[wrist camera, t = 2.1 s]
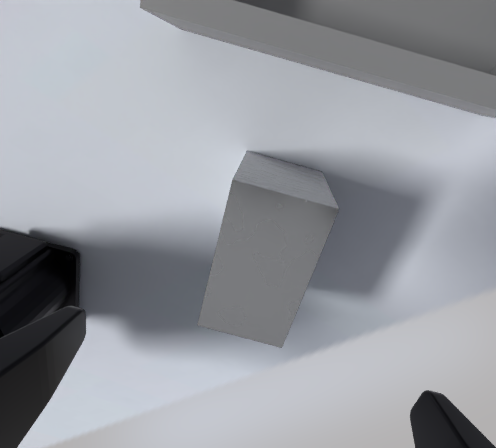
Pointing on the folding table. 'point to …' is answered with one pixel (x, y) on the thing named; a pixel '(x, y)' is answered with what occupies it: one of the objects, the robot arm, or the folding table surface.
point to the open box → (363, 40)
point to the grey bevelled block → (267, 248)
